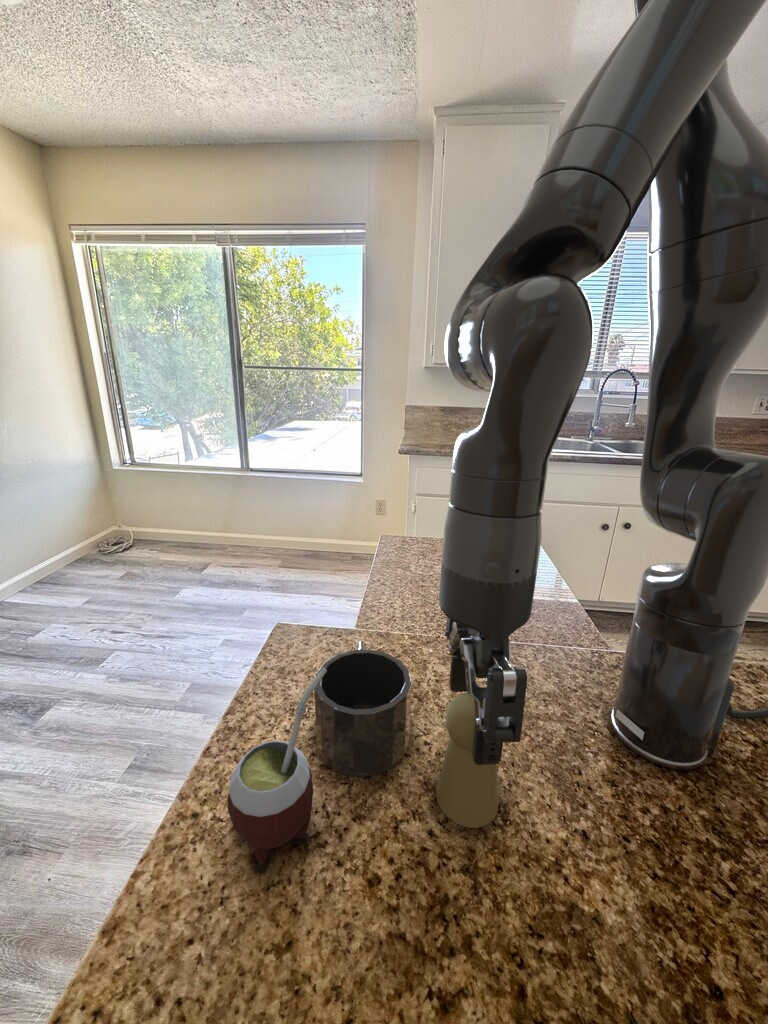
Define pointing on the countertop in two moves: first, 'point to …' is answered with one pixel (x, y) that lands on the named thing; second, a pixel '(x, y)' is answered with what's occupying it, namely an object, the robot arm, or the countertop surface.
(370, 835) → the countertop surface
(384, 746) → the mug
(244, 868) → the countertop surface
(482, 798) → the beige pawn figure
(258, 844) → the mate gourd
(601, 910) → the countertop surface
